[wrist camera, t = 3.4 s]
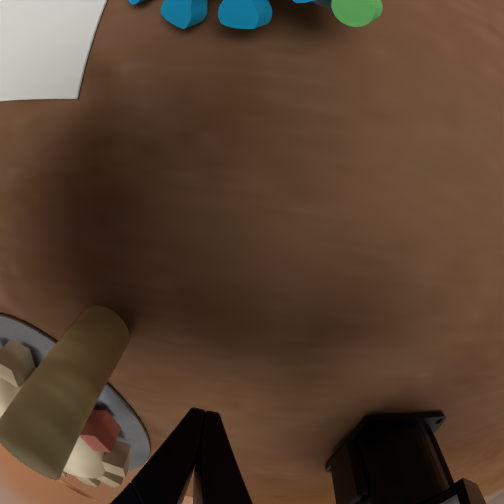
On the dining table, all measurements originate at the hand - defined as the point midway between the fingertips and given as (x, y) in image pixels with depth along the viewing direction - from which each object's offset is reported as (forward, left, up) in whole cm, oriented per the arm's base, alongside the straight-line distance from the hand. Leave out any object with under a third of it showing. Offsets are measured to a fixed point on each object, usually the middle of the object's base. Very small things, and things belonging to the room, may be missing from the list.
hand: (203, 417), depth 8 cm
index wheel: (+11, +9, -4) cm, 14 cm away
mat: (+13, -15, -4) cm, 20 cm away
